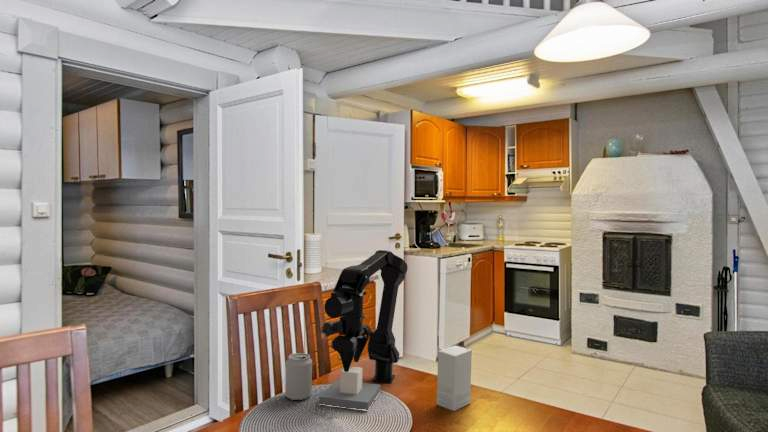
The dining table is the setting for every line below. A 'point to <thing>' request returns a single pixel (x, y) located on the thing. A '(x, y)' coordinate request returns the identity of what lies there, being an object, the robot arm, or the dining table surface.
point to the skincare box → (454, 377)
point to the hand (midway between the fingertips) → (351, 366)
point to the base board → (350, 396)
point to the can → (298, 376)
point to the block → (351, 380)
